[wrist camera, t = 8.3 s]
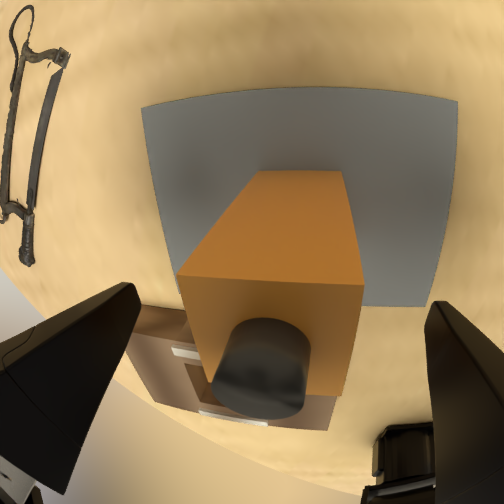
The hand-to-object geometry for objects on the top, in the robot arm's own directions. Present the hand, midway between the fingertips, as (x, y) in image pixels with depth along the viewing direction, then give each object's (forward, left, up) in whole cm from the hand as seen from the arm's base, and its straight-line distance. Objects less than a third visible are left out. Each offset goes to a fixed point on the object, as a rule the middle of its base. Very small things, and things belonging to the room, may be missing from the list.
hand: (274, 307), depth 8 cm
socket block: (+5, +13, -8) cm, 16 cm away
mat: (0, 0, -8) cm, 8 cm away
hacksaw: (+23, -7, -9) cm, 25 cm away
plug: (0, 0, -8) cm, 8 cm away
